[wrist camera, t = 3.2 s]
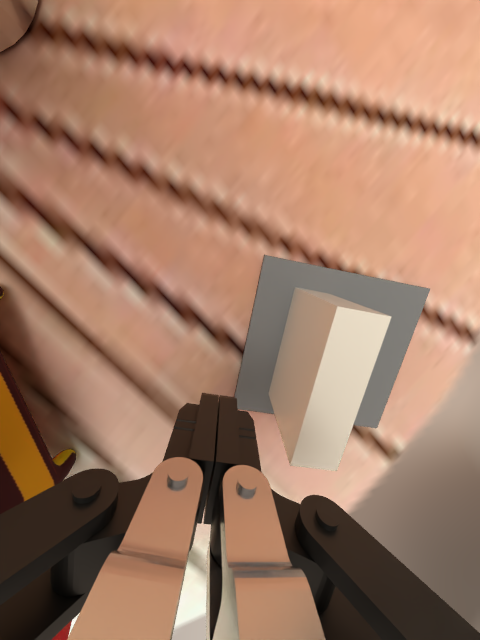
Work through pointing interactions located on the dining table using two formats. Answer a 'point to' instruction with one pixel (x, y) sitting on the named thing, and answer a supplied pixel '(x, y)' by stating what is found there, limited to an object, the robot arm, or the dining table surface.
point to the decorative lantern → (24, 448)
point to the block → (323, 374)
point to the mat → (356, 288)
